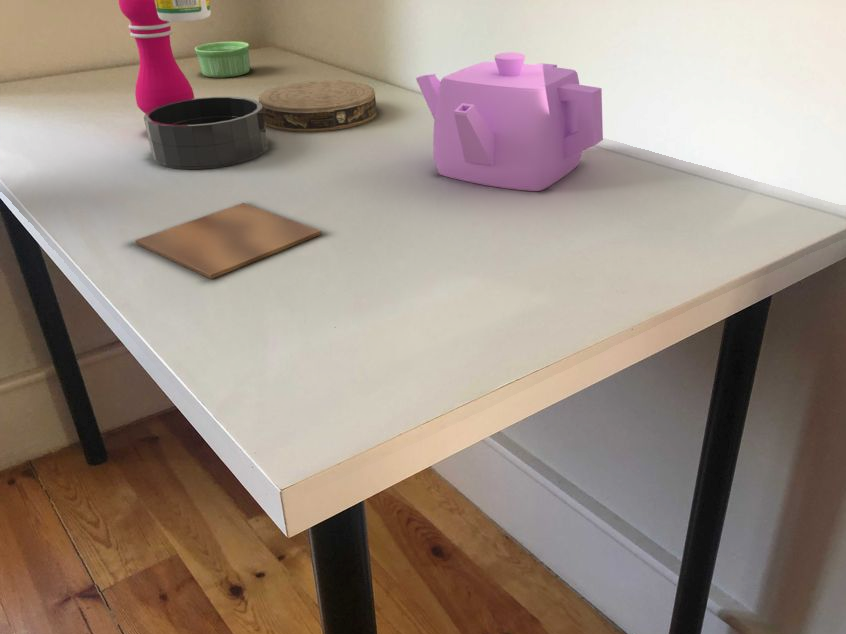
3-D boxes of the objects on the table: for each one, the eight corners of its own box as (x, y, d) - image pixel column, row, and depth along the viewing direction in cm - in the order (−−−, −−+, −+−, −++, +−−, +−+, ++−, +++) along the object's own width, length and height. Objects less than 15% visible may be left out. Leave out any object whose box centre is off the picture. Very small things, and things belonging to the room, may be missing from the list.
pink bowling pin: (203, 135, 104) (170, -34, 93) (145, 142, 101) (105, -31, 91) (197, 121, 109) (166, -39, 99) (142, 128, 107) (104, -36, 97)
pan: (195, 177, 89) (185, 132, 87) (132, 155, 97) (121, 113, 94) (290, 148, 98) (285, 107, 95) (225, 129, 106) (219, 91, 103)
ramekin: (239, 65, 142) (234, 39, 139) (262, 72, 136) (258, 45, 133) (191, 73, 137) (185, 46, 135) (213, 81, 131) (208, 53, 129)
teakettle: (609, 184, 84) (618, 63, 78) (454, 203, 80) (450, 77, 74) (552, 140, 98) (555, 34, 92) (418, 154, 94) (412, 45, 88)
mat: (211, 279, 66) (210, 275, 66) (136, 244, 73) (135, 240, 73) (321, 234, 74) (320, 230, 74) (244, 206, 81) (243, 202, 81)
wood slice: (243, 114, 112) (239, 92, 111) (342, 96, 120) (339, 75, 119) (293, 139, 101) (290, 115, 100) (398, 117, 109) (397, 94, 108)
